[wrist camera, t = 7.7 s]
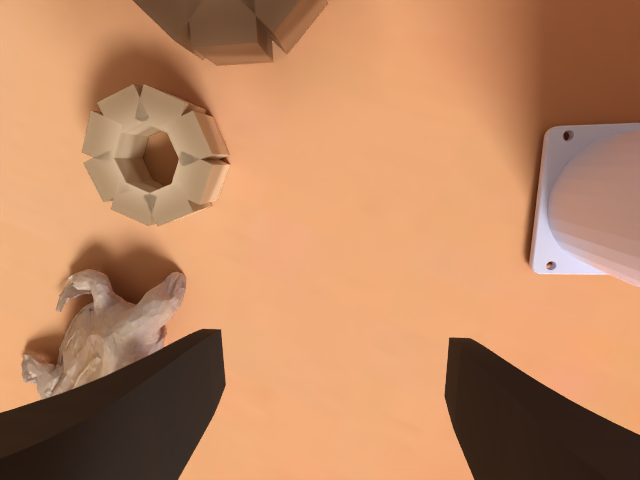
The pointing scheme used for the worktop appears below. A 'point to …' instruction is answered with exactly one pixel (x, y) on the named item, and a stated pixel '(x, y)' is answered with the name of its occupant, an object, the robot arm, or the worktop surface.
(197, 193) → the beige notched ring
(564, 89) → the worktop surface
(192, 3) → the brown segmented ring
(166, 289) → the turtle
